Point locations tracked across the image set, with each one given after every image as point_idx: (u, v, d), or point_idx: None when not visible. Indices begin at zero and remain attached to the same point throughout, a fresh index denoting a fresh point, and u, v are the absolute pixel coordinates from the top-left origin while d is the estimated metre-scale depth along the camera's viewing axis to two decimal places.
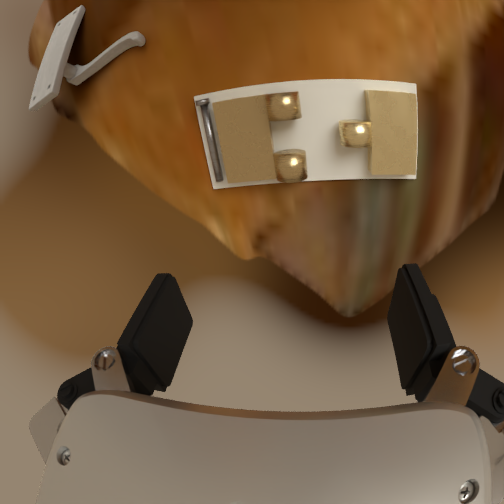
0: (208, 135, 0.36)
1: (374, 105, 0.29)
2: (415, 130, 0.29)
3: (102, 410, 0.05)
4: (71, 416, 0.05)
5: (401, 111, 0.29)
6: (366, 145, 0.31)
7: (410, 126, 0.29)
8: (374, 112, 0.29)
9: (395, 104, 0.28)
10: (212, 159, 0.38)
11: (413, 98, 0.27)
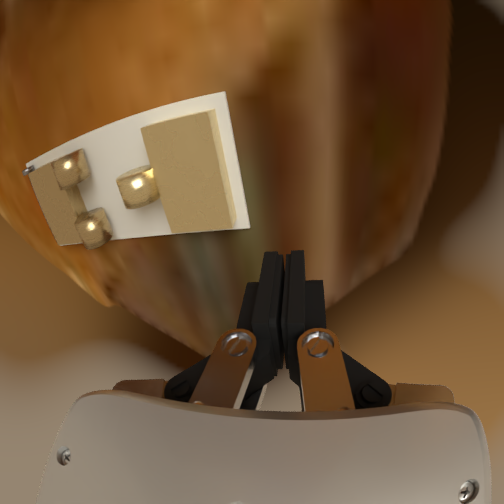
0: None
1: (150, 146, 0.24)
2: (216, 167, 0.24)
3: (102, 410, 0.05)
4: (71, 416, 0.05)
5: (188, 145, 0.23)
6: (142, 204, 0.26)
7: (207, 162, 0.24)
8: (152, 156, 0.24)
9: (178, 137, 0.23)
10: None
11: (204, 119, 0.22)
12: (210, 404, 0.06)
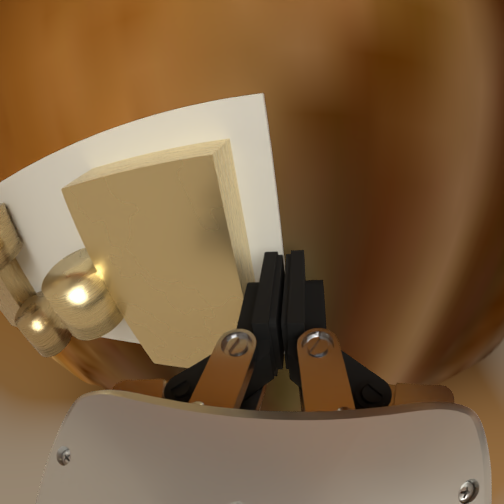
0: None
1: (86, 230, 0.10)
2: (234, 289, 0.11)
3: (102, 410, 0.05)
4: (71, 415, 0.05)
5: (165, 237, 0.10)
6: (91, 335, 0.12)
7: (212, 279, 0.11)
8: (94, 248, 0.11)
9: (139, 216, 0.09)
10: None
11: (202, 178, 0.08)
12: (210, 404, 0.06)
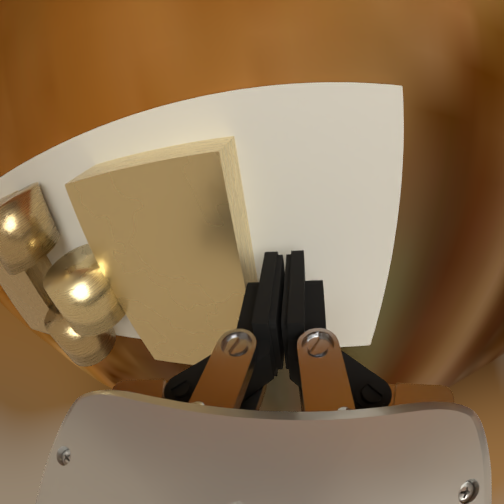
0: None
1: (90, 225, 0.10)
2: (237, 284, 0.11)
3: (102, 410, 0.05)
4: (71, 416, 0.05)
5: (170, 233, 0.10)
6: (93, 332, 0.12)
7: (215, 274, 0.11)
8: (97, 244, 0.11)
9: (143, 212, 0.10)
10: None
11: (208, 174, 0.08)
12: (210, 404, 0.06)
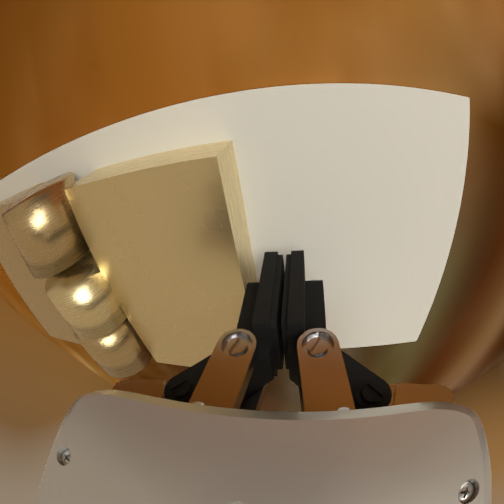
0: None
1: (90, 230, 0.10)
2: (237, 288, 0.11)
3: (102, 410, 0.05)
4: (71, 415, 0.05)
5: (169, 237, 0.10)
6: (95, 335, 0.12)
7: (215, 278, 0.11)
8: (97, 249, 0.11)
9: (143, 217, 0.10)
10: None
11: (206, 179, 0.08)
12: (210, 404, 0.06)
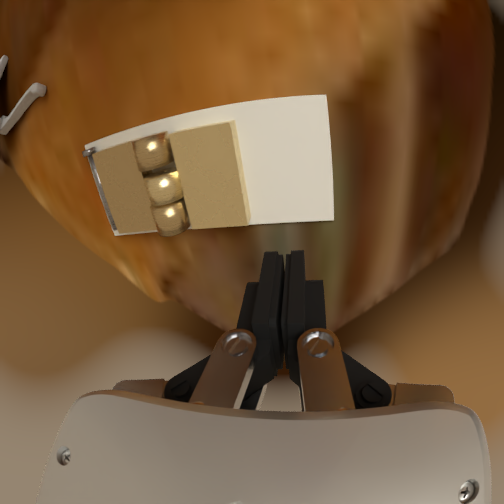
0: (98, 185, 0.33)
1: (177, 150, 0.28)
2: (235, 170, 0.28)
3: (102, 410, 0.05)
4: (71, 415, 0.05)
5: (211, 150, 0.27)
6: (167, 201, 0.30)
7: (227, 167, 0.28)
8: (179, 159, 0.28)
9: (202, 143, 0.27)
10: (105, 208, 0.35)
11: (226, 129, 0.26)
12: (210, 404, 0.06)
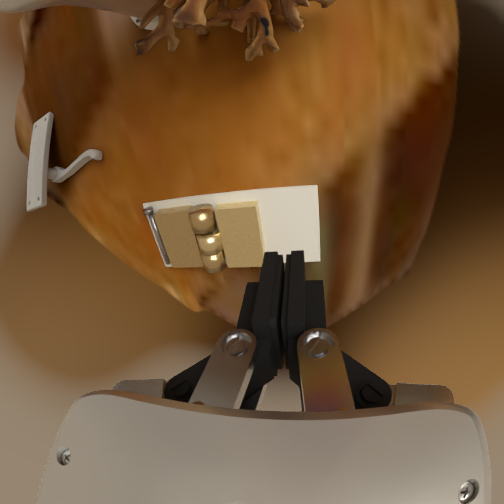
0: (155, 234, 0.51)
1: (220, 220, 0.46)
2: (258, 235, 0.46)
3: (102, 410, 0.05)
4: (71, 415, 0.05)
5: (243, 222, 0.46)
6: (214, 252, 0.48)
7: (253, 232, 0.46)
8: (221, 225, 0.46)
9: (237, 217, 0.45)
10: (160, 249, 0.53)
11: (253, 210, 0.44)
12: (210, 404, 0.06)
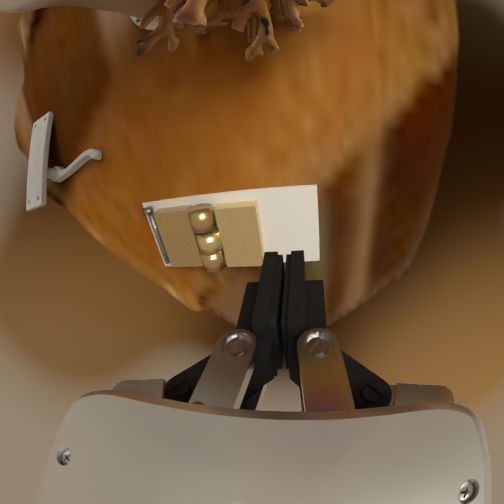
0: (155, 233, 0.51)
1: (219, 220, 0.46)
2: (258, 234, 0.47)
3: (102, 410, 0.05)
4: (71, 416, 0.05)
5: (243, 222, 0.46)
6: (213, 252, 0.48)
7: (252, 232, 0.46)
8: (220, 225, 0.47)
9: (237, 217, 0.45)
10: (160, 249, 0.53)
11: (252, 210, 0.44)
12: (210, 404, 0.06)
